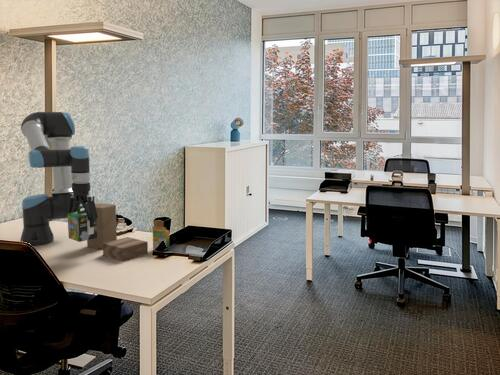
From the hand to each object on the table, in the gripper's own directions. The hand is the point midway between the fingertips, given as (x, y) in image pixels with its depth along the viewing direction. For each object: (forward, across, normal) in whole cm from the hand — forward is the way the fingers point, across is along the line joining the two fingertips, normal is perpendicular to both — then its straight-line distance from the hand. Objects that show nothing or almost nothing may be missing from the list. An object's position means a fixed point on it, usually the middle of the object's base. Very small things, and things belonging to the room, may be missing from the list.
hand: (82, 232), depth 201 cm
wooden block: (+12, -9, +18) cm, 24 cm away
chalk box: (+3, 0, 0) cm, 3 cm away
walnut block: (+12, +12, +14) cm, 22 cm away
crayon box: (+12, +21, +28) cm, 36 cm away
